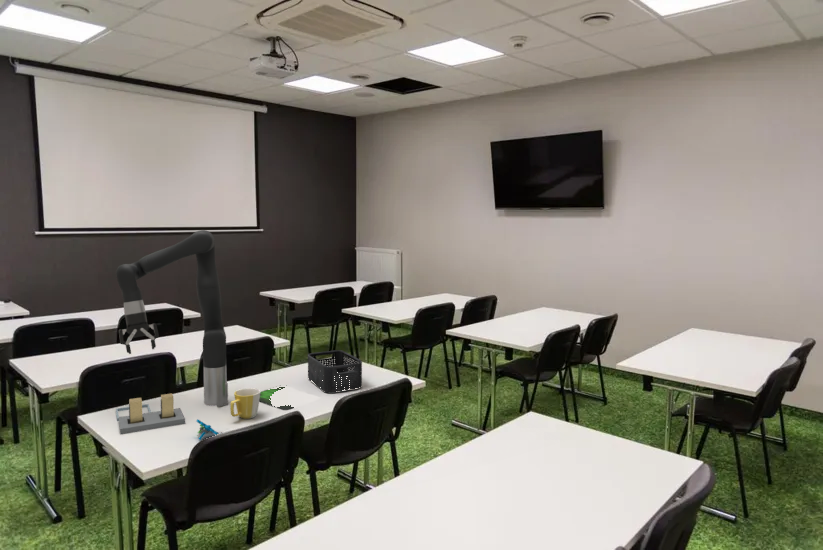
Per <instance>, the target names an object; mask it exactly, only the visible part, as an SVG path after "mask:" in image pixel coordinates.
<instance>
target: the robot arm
mask: <svg viewBox="0 0 823 550" xmlns="http://www.w3.org/2000/svg"><path fill="white" fill-rule="evenodd" d="M215 240H216V239H215V237H214V235H213V234H212V232H211V231H208V230H205V229H201V230H197V231H194V232H193V233H192V234H191V235H190V236H188V237H186V238H184V239H183V240H181V241H179V242H177V243H176V244H173V245H170V246H167V247H166V248H162V249H160V250H156V251H155V252H152V253H150V254H146V255H145V256H143V257H141V258H140V259H139V260H137V261H135V262H132V263H123V264H120V265H119V266H118V267H117V269H116V271H115V275H116V280H117V284H118V286H119V288H120V289H119V290H120V291H121V296H122V300H123V311H124V318H125V323H126V328H124V329H119V330H118V335H119V344H120V345H124V346H125V349H126V353H128V355H132V350H131V349H132V348H131V345H130V343H131V341H132V339H134V338H139V337H144V336H146V337H148V338H149V339H150V346H151V349H152V350H155V348H156V346H157V345H156V339H157V338H159V337H160V335H159V330H158V326H157V323H152V324H148V319H147V318H148V317H147V313H146V308H145V307H146V306H145V304H144V303H145V302H144V299H143V293H142V290H141V288H140V286H138V282H137V280H139V279H142V278H143V277H145V276H146V275H148V274H150V273H153V272H156V271H159V270H160V269H162V268H165V267H167V266H169V265H171V264H173V263H175V262H178V261H179V260H181V259H182V260H183V258H184V259H185V258H186V257H190V256H193V255H195V257H196V262H197V263H196V264H197V270H196V282H195V283H196V293H197V299H198V304H199V307H200V310H201V311H200V312H201V313H202V316H203V329H204V330H203V331H204V332H203V339H202V361H203V362H202V364H203V403H204V405H206V406H210V407H215V406H216V407H217V408H220V407H223V406H227V405H229V390H228V389H229V388H228V387H229V386H228V381H227V334H226V331H225V327H224V323H223V317H222V294H221V292H222V291H221V286H220V279H219V273H218V269H217V265H216V264H217V263H216V257H215V256H216V249H215V248H216V246H215V245H216V241H215ZM150 328H151V330H153V333H154V335H152V334H151V333H150V332H148V331H149V329H150ZM125 333H127V334H128V335H129V336H128V337H127V339H126V341H124V335H125Z"/></svg>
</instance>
